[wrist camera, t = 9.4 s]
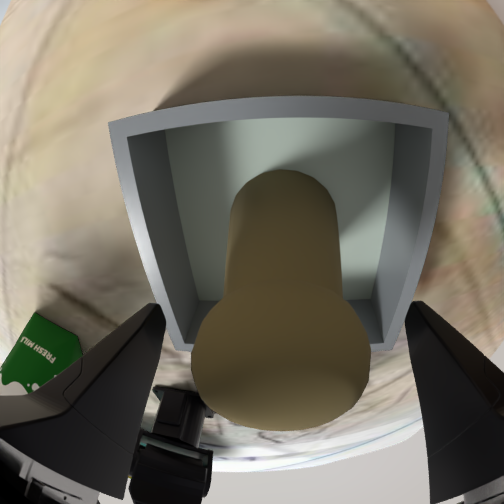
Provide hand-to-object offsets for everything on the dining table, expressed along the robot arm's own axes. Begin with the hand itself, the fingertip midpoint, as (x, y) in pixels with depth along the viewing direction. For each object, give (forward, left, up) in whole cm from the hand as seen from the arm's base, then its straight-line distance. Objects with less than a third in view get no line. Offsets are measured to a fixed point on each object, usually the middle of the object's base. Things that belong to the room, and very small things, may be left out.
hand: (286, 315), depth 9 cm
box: (0, 0, -8) cm, 8 cm away
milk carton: (-15, +27, -8) cm, 32 cm away
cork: (0, 0, -8) cm, 8 cm away
